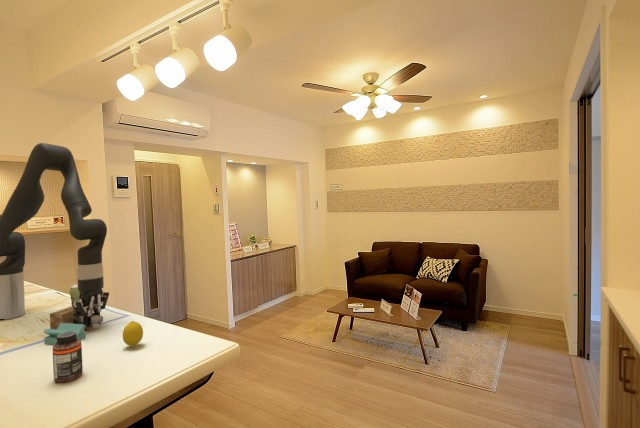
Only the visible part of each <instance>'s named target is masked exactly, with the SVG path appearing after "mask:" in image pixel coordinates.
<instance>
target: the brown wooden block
mask: <svg viewBox="0 0 640 428" xmlns="http://www.w3.org/2000/svg"><path fill="white" fill-rule="evenodd" d="M86 307H89V306H86ZM86 313H87V310H86ZM93 313H94V312H93V309H91V315H93ZM73 314H76V312H75V310H74V308H73V306H72V305H71V306H68V307H66V308H62V309H59V310H55V311H54V312H50V313H49V327H50V328H49V329H54V330H57V328H58V327H59V325H60V324H61V323H71V324H83V323H74V322H73ZM94 329H95V324H91V326H90V327H85V328H84V330H83V331H93V330H94Z"/></svg>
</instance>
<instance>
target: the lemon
mask: <svg viewBox="0 0 640 428" xmlns="http://www.w3.org/2000/svg"><path fill="white" fill-rule="evenodd" d="M143 337H144V329H143V326H142V325H141V324H140V323H139V322H137V321H134V320H132V321H130V322H129V323H127V324H126V325H125V326H124V327H123V330H122V340H123V342H124V343H125V345H126V346H130V347H132V348H134V347H136V346H137V345H138V344H139V343H140V342H141V341H142V339H143Z"/></svg>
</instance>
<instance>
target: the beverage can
mask: <svg viewBox="0 0 640 428" xmlns="http://www.w3.org/2000/svg"><path fill="white" fill-rule="evenodd" d="M79 295H80V292H79V291H78V283H76V284H72V285H71V286H70V288H69V296H70V300H71V303H72V302H75V301H77V300H78V299H79Z"/></svg>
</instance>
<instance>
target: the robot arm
mask: <svg viewBox="0 0 640 428" xmlns="http://www.w3.org/2000/svg"><path fill="white" fill-rule="evenodd" d="M46 170H49V171H56V172H57V171H58V172H60V173H61V175H62V177H63V179H64V182H63V186H62V188H61V190H60V198H61V201H62V204H63V206H64V208H65V211H66V213H67V215H68V216H67V217H68V223H69V233H70V235H71V236H72V237H73V239H75V240H77V241H87V240H89V241H88V244H86V245H85V246H82V247H80V248H78V249H77V270H76V274H77V284H78V291H79V292H80V295H79V299H78V300H77V301H75V302H72V301H71V306H73V308H74V310H75V312H76V314H77V316H83V324H84V325H86V327H90V326H91V316H90V315H91V309H93V315H100V316H101V312H102V310H105V309H106V306H107V302H108V299H109V296H110V292H106V291H104V290H103V288H104V285H105V284H104V267H103V252H102V251H103V248H104V245H105V241H106V238H107V237H106V236H107V233H108V227H107V224H106V223H105V221H104V220H102V219H101V218H89V219H84V218H86V217H89V216H90V215H91V213H92V211H93V209H92V206H91V203H90V202H89V201H88V198H87V196H86V194H85V192H84V190H83V187H82V183H81V181H80V177H79V173H78V169H77V165H76V161H75V158H74V156H73V153H72V151H71V150H70V149H69V148H68V147H65V146H62V145H57V144H50V143H46V142H40V143H37V144H36V145H35V146H34V147H33V148H32V150H31V152H30V154H29V156H28V159H27V162H26V165H25V167H24V169H23V172H22V174H21V177H20V180H19V181H18V184H17V185H16V187H15V189H14V190H13V192H12V194H11V196H10V197H9V199H8V201H7V204H6V206H5V208H4V209H3V211H2V213H1V215H0V258H1V257H5V259H4V260H3V261H2V262H0V319H5V320H10V319H16V318H18V317H21V316H24V315H25V314H26V307H25V306H26V305H25V304H26V303H25V302H26V301H25V280H24V279H25V277H24V275H25V274H24V266H25V264H26V257H25V256H26V239H25V236H24V235H23V234H22V233H21V232H18V231H15V230H17V229H18V228H19V227H21V226H23V225H24V224H26V223H27V222H28V221H30V220H31V219H32V218H33V219H34V217H35V216H36V215H37V214H38V212H39V211H40V209H41V207H42V206H43V203H44V201H45V194H44V190H43V187H42V184H41V178H42V175H43V173H44V172H45V171H46ZM86 306H89V307H86ZM86 310H87V313H86Z"/></svg>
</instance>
